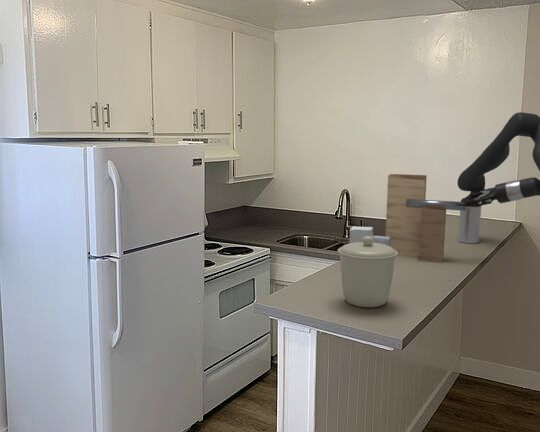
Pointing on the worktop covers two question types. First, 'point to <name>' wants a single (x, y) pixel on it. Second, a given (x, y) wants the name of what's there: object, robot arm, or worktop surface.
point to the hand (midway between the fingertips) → (468, 200)
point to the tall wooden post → (432, 233)
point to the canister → (367, 272)
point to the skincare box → (360, 233)
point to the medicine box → (382, 240)
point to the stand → (404, 212)
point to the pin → (436, 204)
